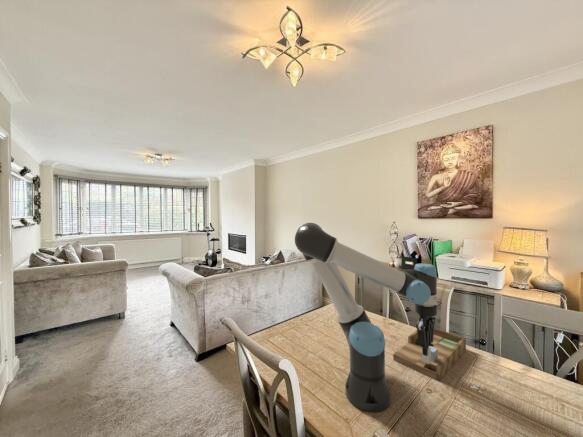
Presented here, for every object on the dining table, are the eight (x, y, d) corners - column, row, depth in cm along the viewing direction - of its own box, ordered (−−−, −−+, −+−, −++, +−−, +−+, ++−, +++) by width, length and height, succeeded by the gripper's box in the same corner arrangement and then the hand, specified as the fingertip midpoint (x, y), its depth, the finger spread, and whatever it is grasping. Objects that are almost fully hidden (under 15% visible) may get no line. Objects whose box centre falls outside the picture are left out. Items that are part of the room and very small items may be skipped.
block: (434, 362, 99) (433, 352, 99) (423, 357, 102) (423, 348, 102) (437, 358, 102) (437, 348, 102) (427, 354, 105) (427, 344, 105)
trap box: (439, 381, 92) (439, 367, 91) (393, 360, 105) (393, 347, 105) (465, 349, 112) (465, 338, 112) (424, 335, 126) (424, 324, 126)
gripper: (429, 310, 90) (430, 373, 90) (442, 301, 98) (443, 359, 98) (408, 304, 95) (409, 364, 96) (422, 297, 104) (423, 351, 104)
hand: (426, 362), depth 97 cm, fingers closed
